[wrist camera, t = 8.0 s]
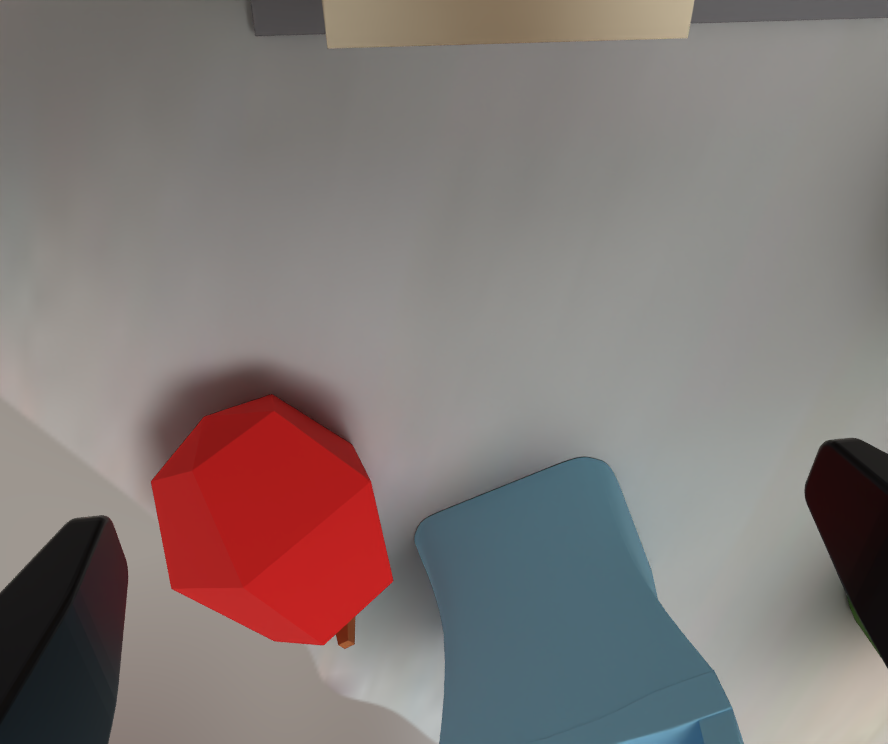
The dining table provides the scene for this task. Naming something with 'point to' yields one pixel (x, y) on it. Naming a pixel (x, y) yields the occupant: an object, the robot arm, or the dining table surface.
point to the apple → (272, 524)
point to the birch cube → (500, 21)
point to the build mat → (301, 13)
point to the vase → (561, 622)
